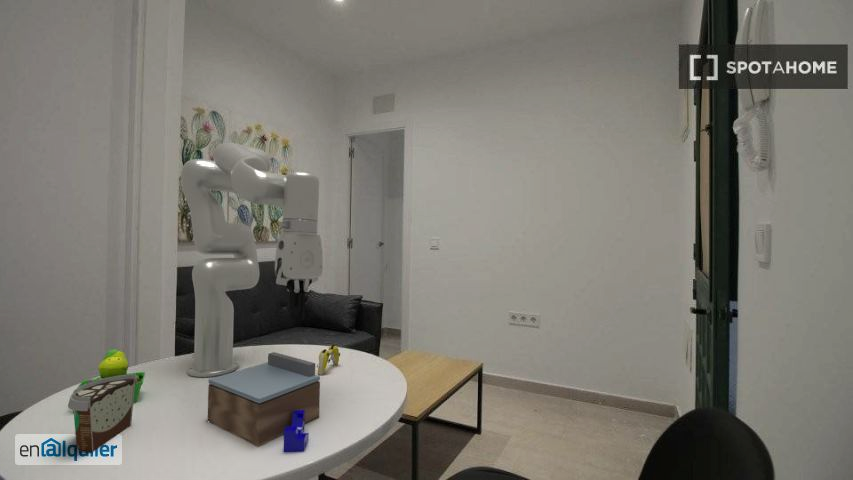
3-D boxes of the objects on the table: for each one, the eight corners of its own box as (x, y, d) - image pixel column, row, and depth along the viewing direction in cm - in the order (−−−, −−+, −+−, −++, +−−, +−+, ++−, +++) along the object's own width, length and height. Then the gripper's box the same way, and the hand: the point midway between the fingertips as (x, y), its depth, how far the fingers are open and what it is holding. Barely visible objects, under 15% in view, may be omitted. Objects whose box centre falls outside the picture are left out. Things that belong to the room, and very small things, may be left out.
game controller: (327, 375, 103) (327, 352, 103) (315, 375, 104) (315, 351, 104) (342, 364, 113) (342, 343, 113) (331, 364, 114) (331, 342, 114)
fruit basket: (73, 416, 77) (74, 361, 77) (82, 401, 85) (84, 350, 85) (142, 404, 83) (143, 353, 84) (145, 391, 91) (146, 344, 91)
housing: (207, 421, 76) (208, 384, 76) (268, 398, 88) (269, 366, 88) (258, 447, 67) (259, 405, 67) (319, 417, 79) (319, 381, 79)
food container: (103, 424, 74) (104, 373, 74) (136, 423, 75) (137, 373, 75) (45, 460, 62) (47, 399, 62) (85, 459, 62) (87, 398, 62)
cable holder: (304, 453, 66) (304, 430, 66) (283, 454, 65) (284, 430, 65) (312, 430, 74) (312, 410, 74) (293, 431, 73) (294, 410, 73)
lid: (208, 383, 76) (208, 366, 76) (269, 365, 88) (269, 350, 88) (259, 403, 67) (259, 384, 67) (319, 380, 79) (320, 364, 79)
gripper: (282, 226, 76) (278, 316, 76) (336, 229, 89) (333, 307, 89) (259, 226, 80) (256, 311, 80) (314, 229, 93) (311, 303, 93)
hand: (296, 309), depth 85 cm, fingers closed
